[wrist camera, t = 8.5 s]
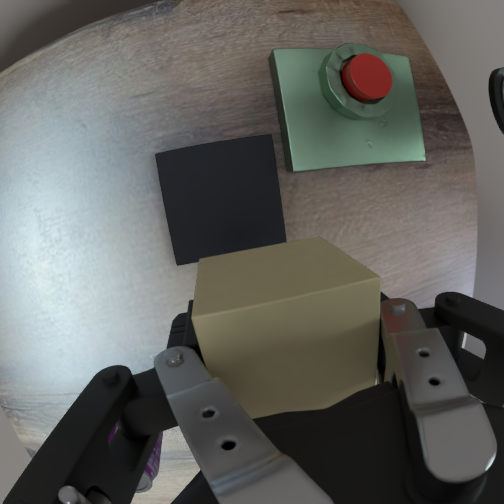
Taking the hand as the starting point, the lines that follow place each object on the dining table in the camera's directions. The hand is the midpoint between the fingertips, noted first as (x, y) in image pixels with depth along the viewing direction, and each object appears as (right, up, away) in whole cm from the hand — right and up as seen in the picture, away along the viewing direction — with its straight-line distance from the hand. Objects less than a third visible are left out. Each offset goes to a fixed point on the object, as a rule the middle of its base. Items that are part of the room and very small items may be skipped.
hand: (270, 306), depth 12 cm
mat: (-3, +7, +14) cm, 16 cm away
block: (0, 0, 0) cm, 0 cm away
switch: (+9, +17, +9) cm, 21 cm away
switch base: (+8, +16, +13) cm, 22 cm away
